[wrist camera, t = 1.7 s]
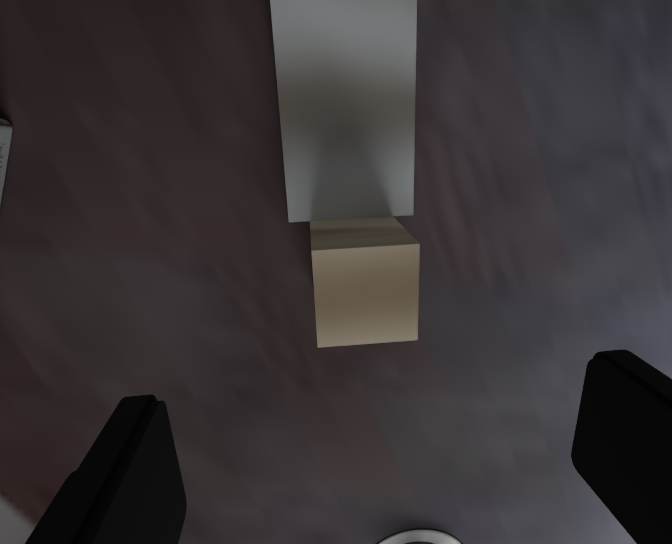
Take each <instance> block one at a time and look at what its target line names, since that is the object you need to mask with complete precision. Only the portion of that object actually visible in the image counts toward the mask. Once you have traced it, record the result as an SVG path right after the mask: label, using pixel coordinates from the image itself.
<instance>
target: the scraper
mask: <svg viewBox="0 0 672 544" xmlns="http://www.w3.org/2000/svg"><path fill="white" fill-rule="evenodd" d="M270 5H271V17H272V29H273V40H274V52H275V64H276V76H277V88H278V100H279V111H280V123H281V135H282V147H283V159H284V171H285V183H286V194H287V206H288V218H289V222H304V221H310V234H311V252H312V267H313V282H314V297H315V311H316V326H317V341H318V347H331V346H344V345H358V344H371V343H384V342H397V341H411V340H417V339H418V296H419V253H420V244H419V243H418V242H417V241H416V240H415V239H414V238H413V237H412V235H411V234H410V233H409V232H408V231H407V230H406V229H405V228H404V227H403V226H402V225H401V224H400V223H399V222H398V221H397V220H396V219H395V218H394V217H393V216H405V215H413V198H414V141H415V83H416V26H417V0H270Z"/></svg>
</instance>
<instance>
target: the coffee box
mask: <svg viewBox="0 0 672 544" xmlns="http://www.w3.org/2000/svg"><path fill="white" fill-rule="evenodd" d="M11 137H12V126H11V124H10V123H9V122H8V121H6V120H4V119H1V118H0V205H1V199H2V193H3V186H4V180H5V174H6V167H7V160H8V155H9V149H10V143H11Z"/></svg>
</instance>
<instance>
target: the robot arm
mask: <svg viewBox="0 0 672 544" xmlns="http://www.w3.org/2000/svg"><path fill="white" fill-rule="evenodd" d="M571 457H572V462H573V465H574V467H575V469H576V470H577V472H578V473H579V474H580V475H581V477H582V478H583V479H584V480H585V481H586V483H587V484H588V485H589V486H590V487H591V489H592V490H593V491H594V492H595V493H596V495H597V496H598V497H599V498H600V499H601V501H602V502H603V503H604V504H605V506H606V507H607V508H608V509H609V510H610V512H611V513H612V514H613V515H614V516H615V518H616V519H617V520H618V521H619V522H620V524H621V525H622V526H623V527H624V528H625V530H626V531H627V532H628V533H629V535H630V536H631V537H632V538H633V539H634V541H635V542H636V543H637V544H672V379H671V378H669V377H668V376H666V375H665V374H663V373H661V372H660V371H658V370H657V369H655V368H654V367H652V366H651V365H649V364H648V363H646V362H645V361H643V360H642V359H640V358H639V357H637V356H636V355H634V354H633V353H631V352H630V351H627V350H612V351H602V352H598V353H596V354H595V355H594V357H593V359H591V360H590V361H589V362H588V364H587V369H586V374H585V380H584V385H583V391H582V396H581V402H580V407H579V413H578V418H577V424H576V429H575V435H574V441H573V446H572V452H571ZM185 515H186V495H185V491H184V486H183V481H182V477H181V472H180V468H179V463H178V458H177V454H176V449H175V445H174V440H173V435H172V431H171V426H170V422H169V417H168V412H167V408H166V404H165V402H164V401H157V399H156V397H155V396H154V395H142V396H131V397H124V398H123V399H122V400H121V401H120V402H119V404H118V405H117V407H116V409H115V410H114V412H113V413H112V415H111V417H110V418H109V420H108V421H107V423H106V425H105V426H104V428H103V429H102V431H101V433H100V434H99V436H98V437H97V439H96V441H95V442H94V444H93V445H92V447H91V448H90V450H89V452H88V453H87V455H86V456H85V458H84V460H83V461H82V463H81V464H80V466H79V468H78V469H77V470H76V471H74V472H73V473H71V474H70V476H69V477H68V478H67V479H66V480H65V482H64V483H63V485H62V487H61V488H60V490H59V491H58V493H57V494H56V496H55V498H54V499H53V501H52V502H51V504H50V505H49V507H48V508H47V510H46V512H45V513H44V515H43V516H42V518H41V519H40V521H39V522H38V524H37V526H36V527H35V529H34V530H33V532H32V533H31V535H30V537H29V538H28V540H27V541H26V543H25V544H178V541H179V538H180V534H181V530H182V527H183V523H184V520H185Z"/></svg>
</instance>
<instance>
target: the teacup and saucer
mask: <svg viewBox="0 0 672 544" xmlns="http://www.w3.org/2000/svg"><path fill="white" fill-rule="evenodd" d="M416 541H424V542H430V543H434V544H461V543H460V542H459V541H458V540H457V539H455V538H454V537H452V536H450V535H448V534H446V533H443V532H439V531H434V530H411V531H406V532H402V533H398V534H396V535H393V536H391V537H389V538H387V539H385V540H383V541H381V542H380V543H379V544H405V543H409V542H416Z"/></svg>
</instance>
